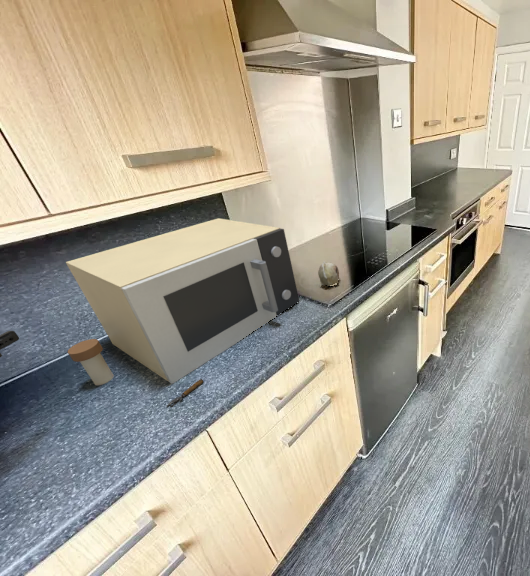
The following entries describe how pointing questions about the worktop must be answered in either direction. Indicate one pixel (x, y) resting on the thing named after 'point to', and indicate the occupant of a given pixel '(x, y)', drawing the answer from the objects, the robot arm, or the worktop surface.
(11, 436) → the worktop surface
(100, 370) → the mushroom
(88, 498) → the worktop surface
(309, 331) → the worktop surface
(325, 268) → the garlic bulb
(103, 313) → the microwave
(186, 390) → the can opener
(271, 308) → the microwave door
